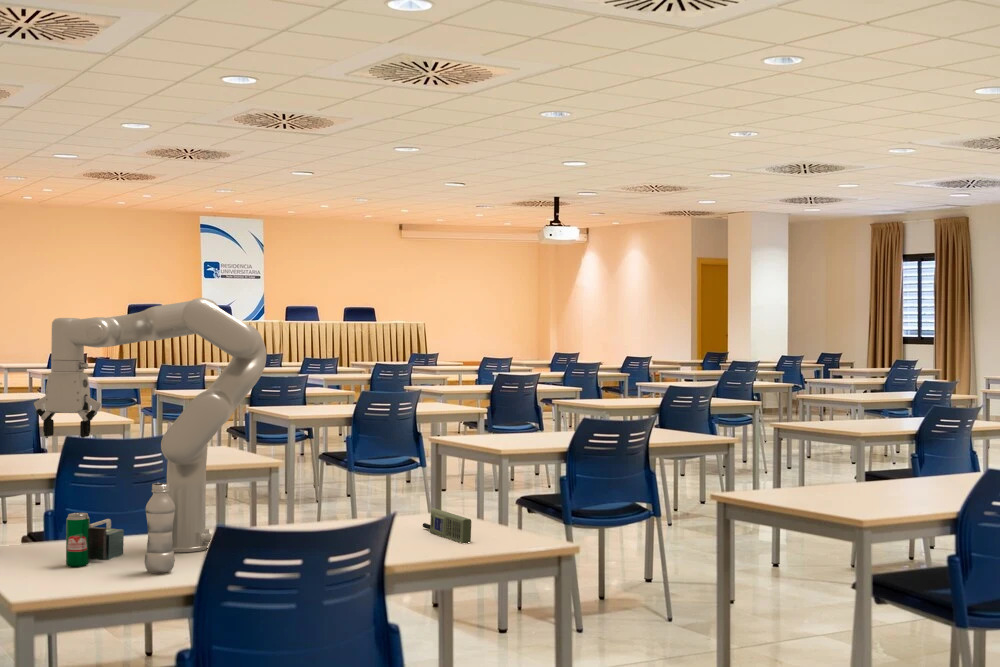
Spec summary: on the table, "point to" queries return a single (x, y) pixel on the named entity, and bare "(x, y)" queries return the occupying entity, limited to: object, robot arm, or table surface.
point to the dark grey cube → (114, 543)
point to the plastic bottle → (160, 530)
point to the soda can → (77, 540)
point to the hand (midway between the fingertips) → (66, 436)
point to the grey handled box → (98, 540)
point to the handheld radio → (449, 526)
